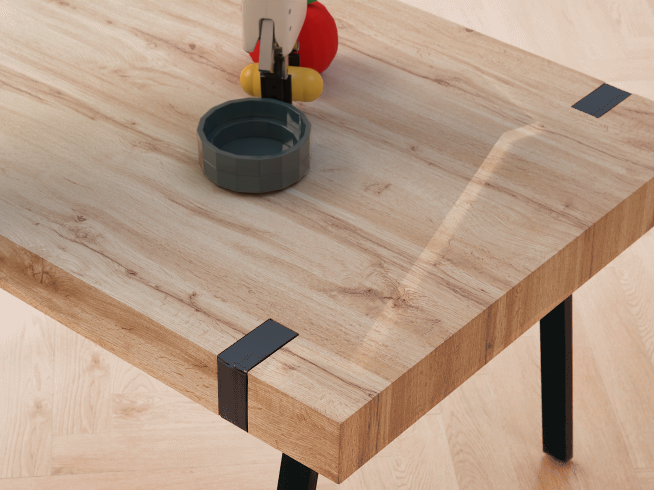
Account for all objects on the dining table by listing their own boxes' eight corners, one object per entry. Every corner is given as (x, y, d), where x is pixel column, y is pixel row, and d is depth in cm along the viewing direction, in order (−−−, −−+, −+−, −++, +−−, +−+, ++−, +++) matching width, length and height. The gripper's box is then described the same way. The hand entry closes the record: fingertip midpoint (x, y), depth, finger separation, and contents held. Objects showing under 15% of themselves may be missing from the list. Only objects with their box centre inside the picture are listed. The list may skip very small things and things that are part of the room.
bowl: (179, 177, 108) (175, 139, 105) (235, 123, 116) (233, 87, 113) (278, 209, 105) (277, 171, 102) (328, 151, 112) (329, 114, 110)
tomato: (354, 87, 123) (357, 6, 116) (271, 108, 118) (269, 25, 112) (311, 45, 129) (312, -34, 122) (231, 64, 125) (228, -17, 118)
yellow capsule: (237, 101, 114) (235, 71, 112) (245, 84, 117) (243, 54, 115) (320, 110, 114) (319, 80, 111) (326, 92, 116) (326, 63, 114)
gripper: (257, -106, 109) (264, 54, 122) (214, -35, 97) (227, 135, 110) (329, -100, 109) (329, 61, 121) (296, -28, 96) (300, 143, 109)
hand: (281, 95), depth 115 cm, fingers closed on yellow capsule, 3 cm apart
